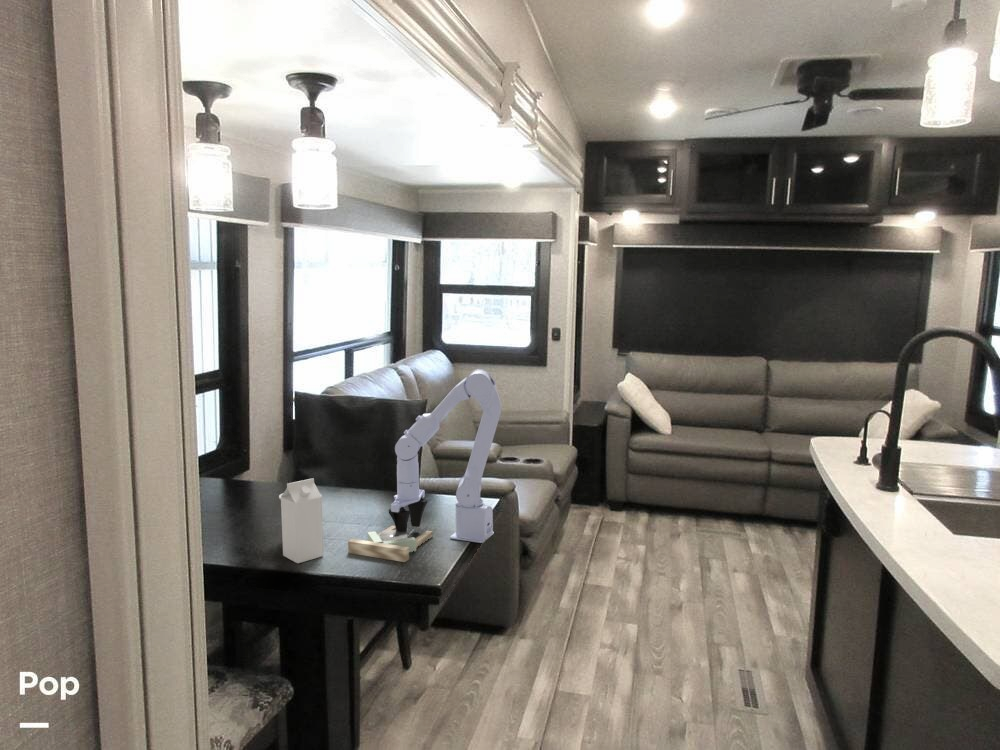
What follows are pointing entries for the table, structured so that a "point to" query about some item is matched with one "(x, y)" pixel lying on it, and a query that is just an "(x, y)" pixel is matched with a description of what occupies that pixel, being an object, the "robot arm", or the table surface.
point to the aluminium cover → (392, 535)
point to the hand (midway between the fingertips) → (408, 530)
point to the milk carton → (302, 521)
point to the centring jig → (387, 546)
